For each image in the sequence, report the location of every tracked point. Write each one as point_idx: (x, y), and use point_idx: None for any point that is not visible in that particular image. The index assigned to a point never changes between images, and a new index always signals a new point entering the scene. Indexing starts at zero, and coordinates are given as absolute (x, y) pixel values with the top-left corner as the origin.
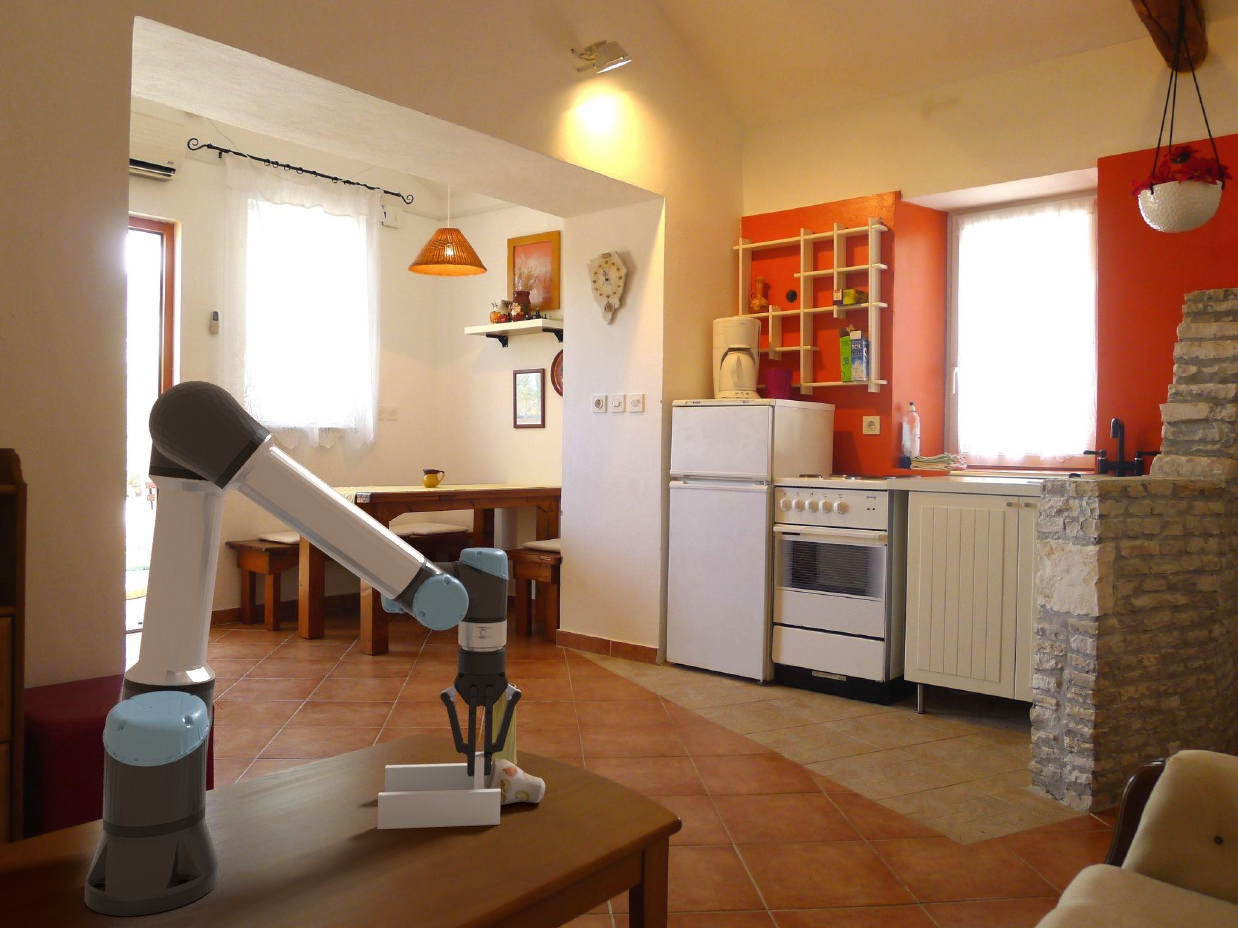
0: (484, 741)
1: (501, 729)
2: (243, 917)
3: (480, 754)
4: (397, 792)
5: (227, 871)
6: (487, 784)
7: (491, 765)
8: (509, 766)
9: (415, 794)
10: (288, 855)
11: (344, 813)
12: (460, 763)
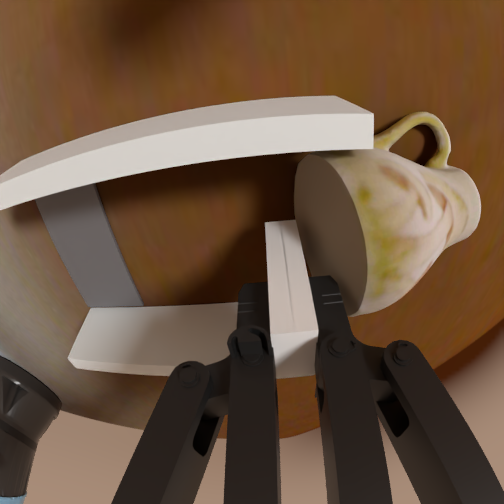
0: (321, 432)
1: (406, 466)
2: (108, 422)
3: (299, 354)
4: (99, 363)
5: (38, 375)
6: (314, 221)
7: (344, 196)
8: (408, 289)
9: (139, 373)
10: (55, 362)
11: (14, 256)
12: (180, 131)
